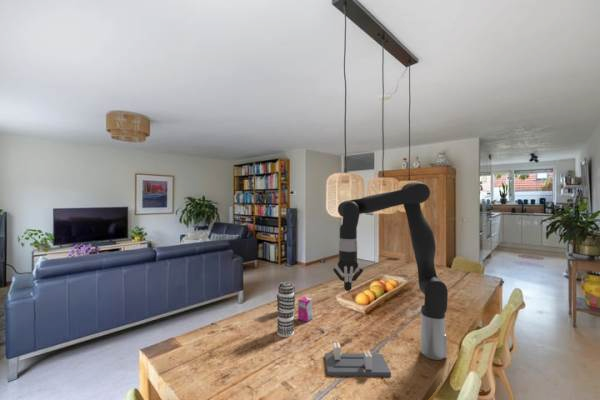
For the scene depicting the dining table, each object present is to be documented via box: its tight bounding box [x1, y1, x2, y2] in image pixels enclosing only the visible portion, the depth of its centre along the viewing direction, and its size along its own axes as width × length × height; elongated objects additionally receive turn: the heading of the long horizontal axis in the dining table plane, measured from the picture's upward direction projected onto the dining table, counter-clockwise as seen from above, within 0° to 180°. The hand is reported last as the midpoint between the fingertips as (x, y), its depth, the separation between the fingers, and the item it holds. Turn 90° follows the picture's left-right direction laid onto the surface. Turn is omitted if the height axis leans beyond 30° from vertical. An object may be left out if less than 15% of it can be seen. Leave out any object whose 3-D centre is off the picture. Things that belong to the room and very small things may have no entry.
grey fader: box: [363, 349, 372, 370], centre depth 104 cm, size 2×4×5 cm, turn 0°
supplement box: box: [297, 296, 313, 324], centre depth 148 cm, size 6×6×12 cm
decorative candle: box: [276, 281, 296, 338], centre depth 133 cm, size 9×9×25 cm
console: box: [324, 352, 392, 377], centre depth 107 cm, size 24×12×2 cm, turn 90°
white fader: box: [332, 341, 342, 360], centre depth 110 cm, size 2×4×5 cm, turn 0°
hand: (347, 290), depth 111 cm, fingers closed
